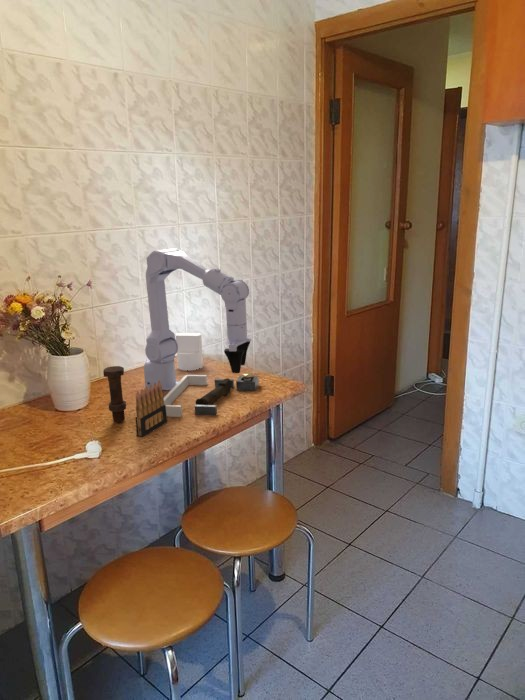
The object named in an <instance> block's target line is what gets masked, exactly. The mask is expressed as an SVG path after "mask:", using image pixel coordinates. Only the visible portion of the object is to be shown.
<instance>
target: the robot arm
mask: <svg viewBox="0 0 525 700" xmlns="http://www.w3.org/2000/svg"><path fill="white" fill-rule="evenodd" d="M176 270H182V271H184V272H186V273H188V274H191V275H193V276H194V277H196V278H198V279H200V280H202V284H203V286H205V287H206V288H208V289H210V290H211V291H213V292H214V293H216V294H217V295H219V296H221V299H222V301H223V302H224V307H225V317H226V334H227V335H226V337H227V338H226V342H227V344H228V348H225V349H224V351H223V352H224V354H225V356H226V358H227V360H228V363H229V365H230V370H231V373H232V374H240V373H241V368H242V366H245V364H246V362H247V361H246V359H247V353H248V348H249V346H250V344H251V341H252V337H248V329H247V323H248V322H247V303H246V302H247V301H246V299H247V298H248V296H249V295H250V288H249V285H248V283H246V282H245V281H243V279H236V280H235V278H234V277H232V276H228V275H227V274H225V273H223V272H222V270H221V269H220V268H219V267H217V268H215V267H214V268H213V267H212V268H210V269H209V268H207V267H205V266H203V265H202V264H201V263H199V262H197V261H196V260H195V259H193V258H191V257H190V256H189V255H187V254H186V252H184V251H182V250H180V249H179V248H176V247H172V248H167V249H160V250H152V251H151V252H150V254H149V255H148V256H146V271H145V282H146V283H145V284H146V292H147V302H148V309H149V319H150V328H151V330H150V331H151V332H150V333H149V334H148V336H147V337H146V345H145V350H144V353H145V356H146V358H147V359H146V361H145V362H144V364H143V365H144V366H143V375H144V383H145V384H144V386H145V387H144V389H145V388H146V387H148V390H149V388H150V385H152V387H154V383H156V385H158V381H160V383H161V386H162V391H171V390H172V389H173V388H174V387H175V386H176V385H177V383H178V382H179V381H180V380H177V377H176V376H177V375H176V367H175V366H176V365H175V364H176V363H175V359H176V355H177V352H178V343H177V341H176V333H174V331H172V330H171V329H170V322H169V315H168V314H169V313H168V304H167V295H166V284H165V281H166V279H167V278H168V276H170V274H171V273H173V272H174V271H176Z"/></svg>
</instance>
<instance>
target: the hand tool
mask: <svg viewBox="0 0 525 700" xmlns="http://www.w3.org/2000/svg"><path fill="white" fill-rule="evenodd" d="M223 379H224V380H222V381H220V382H219V383H218V386H217V387H216V388H215V387H214V388H213V389H212V390H211V391H209V392H208V393H206V394H205V395H203V396H202V397H200V398H197V399H196V400H195V405H215V403H217V402H218V401H219V400H220V399H222V398H223V397H227V396H228V395H229V394H230V393H231V390H232V388H231V382H230V379H231V378H228V377H227V378H223Z"/></svg>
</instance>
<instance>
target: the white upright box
mask: <svg viewBox="0 0 525 700" xmlns="http://www.w3.org/2000/svg"><path fill="white" fill-rule="evenodd" d="M175 339H176V341H177V343H178V352H177V353H176V359H177V369H178V370H180V371H187V370H188V371H197V370H199V368H200V369H202V368H203V367H204V360H203V359H204V357H203V343H202V342H203V341H202V333H186V332H185V333H182V332H181V333H175ZM196 369H197V370H196Z"/></svg>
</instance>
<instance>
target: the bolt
mask: <svg viewBox="0 0 525 700" xmlns="http://www.w3.org/2000/svg"><path fill="white" fill-rule="evenodd" d="M124 369H125V367H123V366H120V365H113V366H107V367H105V368H104V369H103V372H102V373H103V374H102V375H103V378H107V381H108V385H109V386H108V387H109V388H108V389H109V396H110V397H109V398H110V402H109V403H108V411H110V412H111V413H112V421H113V422H114V423H115V424H121V423H122V422H124V421H125V420H126V419H125V418H126V416H125V410H126V409H127V402H126V401H125V399H124V397H123V389H122V386H123V385H122V376H124V374H125V370H124Z"/></svg>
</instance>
